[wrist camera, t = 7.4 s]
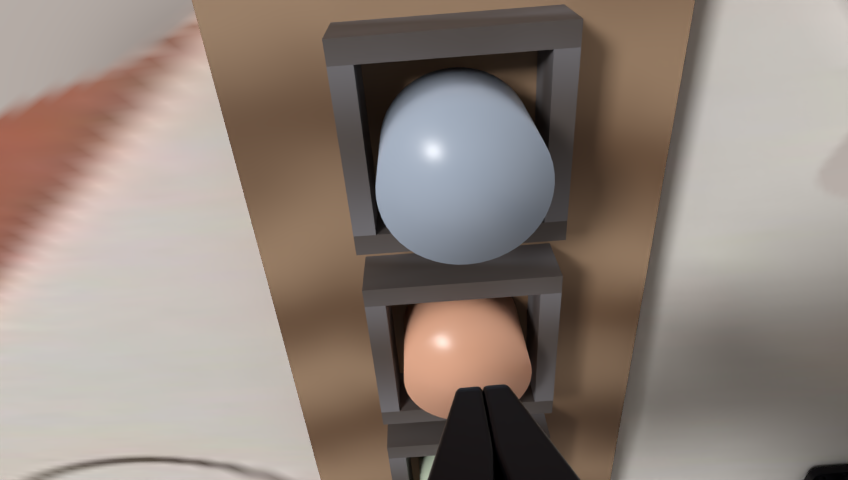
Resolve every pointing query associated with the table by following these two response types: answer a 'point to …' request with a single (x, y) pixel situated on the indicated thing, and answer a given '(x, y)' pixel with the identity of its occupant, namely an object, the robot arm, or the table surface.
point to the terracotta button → (462, 350)
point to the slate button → (461, 168)
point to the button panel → (413, 274)
